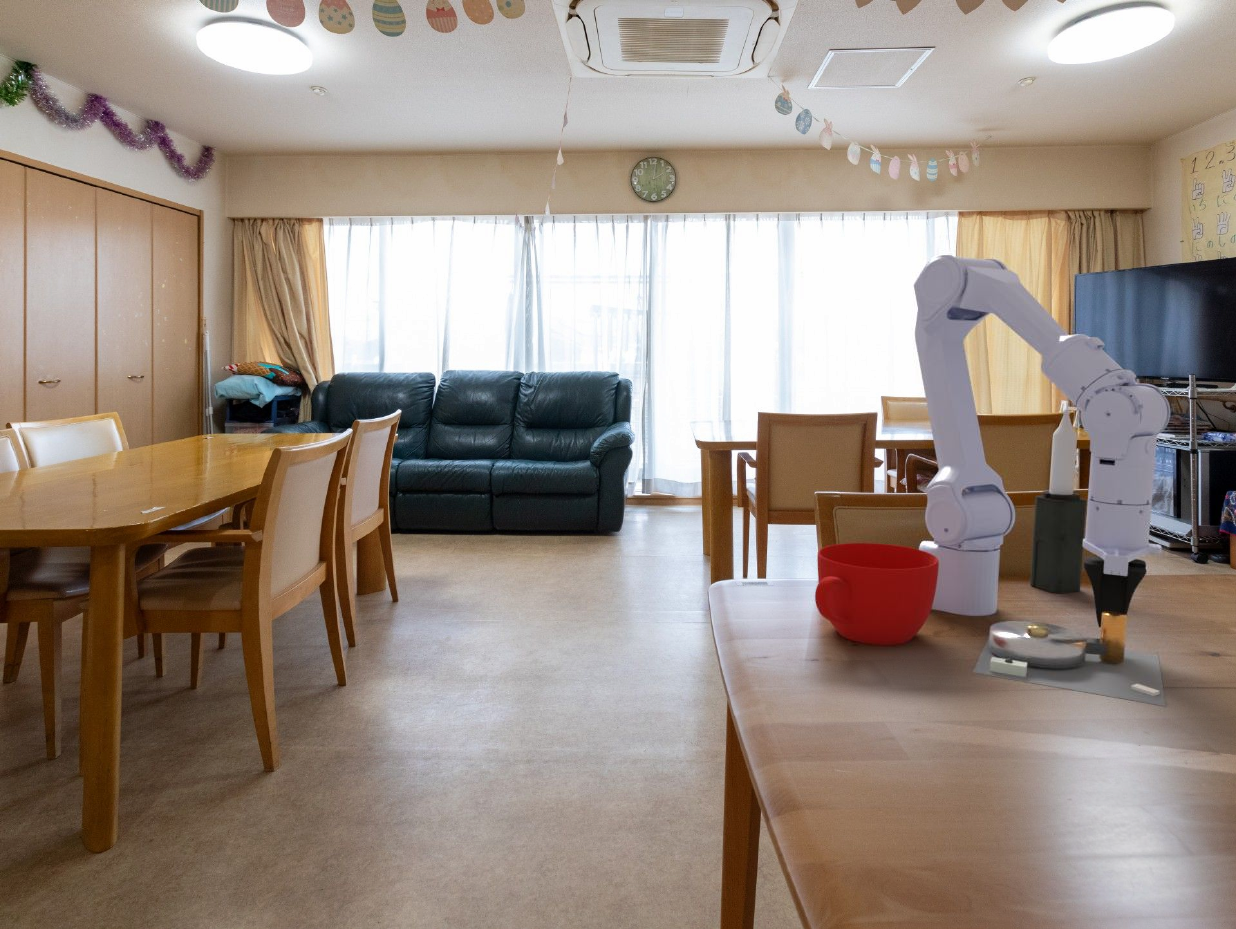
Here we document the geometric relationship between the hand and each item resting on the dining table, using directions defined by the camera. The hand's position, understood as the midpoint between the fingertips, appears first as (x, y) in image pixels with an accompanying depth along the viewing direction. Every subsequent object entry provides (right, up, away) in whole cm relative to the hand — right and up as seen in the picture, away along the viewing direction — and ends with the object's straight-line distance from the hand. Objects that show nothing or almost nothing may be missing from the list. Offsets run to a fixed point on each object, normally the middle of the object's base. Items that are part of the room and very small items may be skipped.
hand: (1109, 627), depth 89 cm
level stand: (-7, -4, -4) cm, 9 cm away
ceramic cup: (-25, -3, +5) cm, 25 cm away
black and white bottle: (+9, 0, +29) cm, 30 cm away
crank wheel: (-7, -2, -2) cm, 8 cm away
